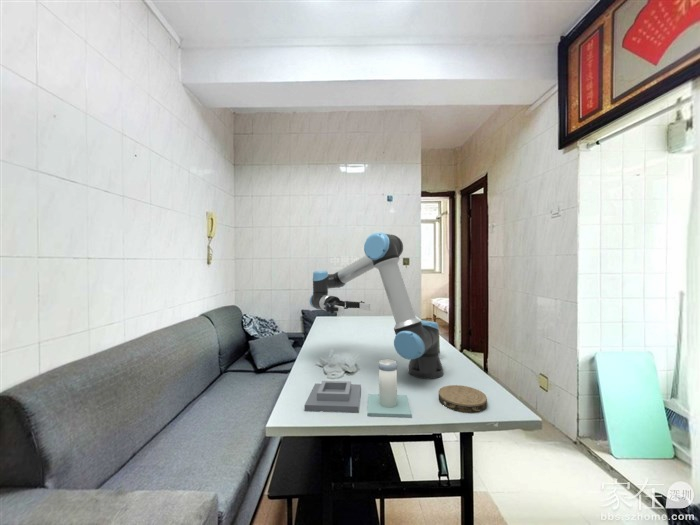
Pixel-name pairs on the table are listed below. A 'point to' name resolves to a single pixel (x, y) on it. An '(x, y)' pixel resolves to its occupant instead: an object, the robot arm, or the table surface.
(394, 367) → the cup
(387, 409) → the mat
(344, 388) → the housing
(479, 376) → the table surface
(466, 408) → the wood slice coaster
